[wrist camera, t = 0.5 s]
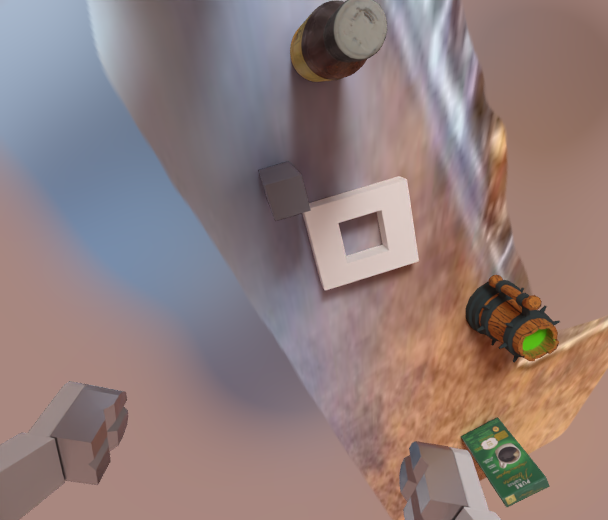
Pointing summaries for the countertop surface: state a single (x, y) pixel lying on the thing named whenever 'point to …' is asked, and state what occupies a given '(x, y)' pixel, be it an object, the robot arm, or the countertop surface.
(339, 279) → the socket
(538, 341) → the mug
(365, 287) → the countertop surface
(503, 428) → the coffee box
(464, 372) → the countertop surface
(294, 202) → the plug
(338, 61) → the sauce bottle
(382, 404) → the countertop surface
